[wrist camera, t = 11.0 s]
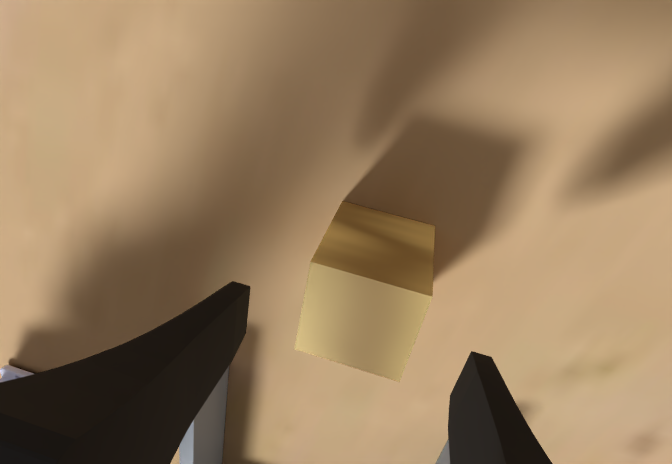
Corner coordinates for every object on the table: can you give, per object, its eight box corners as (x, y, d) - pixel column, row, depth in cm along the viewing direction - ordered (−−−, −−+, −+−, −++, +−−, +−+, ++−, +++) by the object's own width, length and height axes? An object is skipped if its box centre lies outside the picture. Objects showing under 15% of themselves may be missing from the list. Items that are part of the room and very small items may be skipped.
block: (326, 275, 20) (294, 349, 15) (342, 200, 18) (310, 261, 13) (408, 298, 19) (399, 382, 15) (434, 225, 17) (432, 296, 13)
